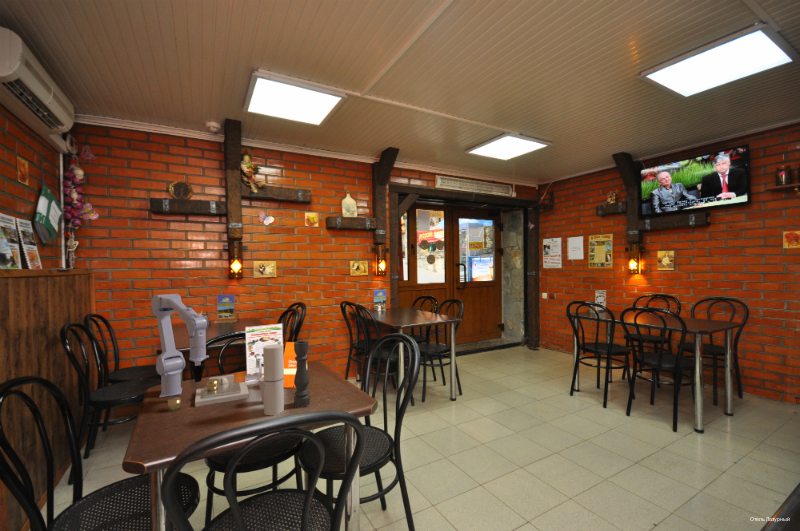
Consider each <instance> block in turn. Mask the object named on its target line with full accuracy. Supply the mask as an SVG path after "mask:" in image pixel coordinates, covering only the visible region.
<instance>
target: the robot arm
mask: <svg viewBox="0 0 800 531" xmlns="http://www.w3.org/2000/svg"><path fill="white" fill-rule="evenodd" d="M150 304H151V310H152V314H153V315H155V316H156V323H157V327H158V334H159V340H160V345H161V354H159V356H157V358H156V360H155V361H156V365H155V370H156V373H157V374H158V375H160V376H161V378H160V379H161V392H160V394H159V398H165V397H172V396H178V395H182V391H183V387H181V386H182V385H181V384H182V382H181V376H182V375H181V373H182V372H183V370H184V369H185V367H186V360H185V357H184V355H183V353H182V352H181V351H179V350H178V349H176V343H175V337H174V332H173V325H172V319H171V316H172V314H173V313H175V312H176V313H178V317H179V319H180V320H182V322H183V323H184V324H186V330H187V332H188V333H187V334H188V336H189V361H190V363H191V364H189V368H190V370H191V371H192V375H193V378H194V379H193V380H194V382H195V383H199V382H202V380H203V374H204V373H203V372H204V369H205V368H206V365H207V364H206V363H205V362H206V360H207V358H208V359H209V358H210V355H207V348H206V347H207V346H206V343H207V342H206V341H207V340H206V335H207V333H206V330H207V329H208V328H209V325H210V323H209V320H208V317H207V316H206V315H200V314H199V313H197V312H196V311H195V310H194V309H193V308H192V307H187V306H186V305H185V304H184V303H183V302H182V296H181V295H180V294H179V293H176V292H175V293H169V294H168V293H166V294H154V295H153V297H152V299H151V302H150Z"/></svg>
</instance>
